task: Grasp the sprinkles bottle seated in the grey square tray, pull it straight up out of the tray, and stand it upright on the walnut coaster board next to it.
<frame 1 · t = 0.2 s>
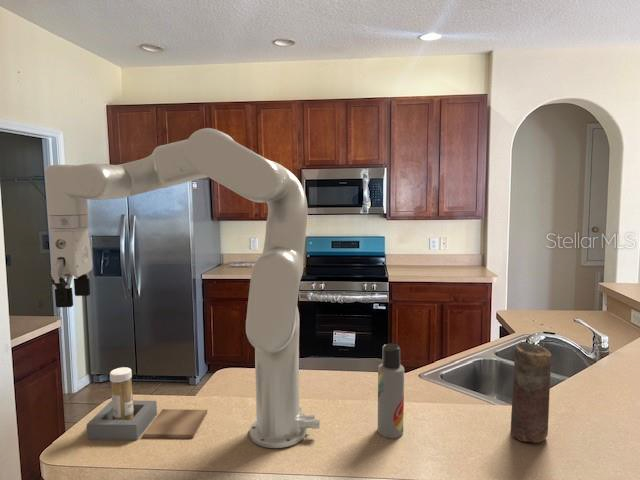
hand: (74, 300, 98), 30 cm above the counter, tool pointing down, fingers open, 9 cm apart
grey square tray: (124, 426, 103), on the counter
lotion bottle: (390, 432, 100), on the counter
sprinkles bottle: (124, 427, 103), resting in grey square tray
coaster board: (177, 424, 104), on the counter
candle: (528, 436, 98), on the counter
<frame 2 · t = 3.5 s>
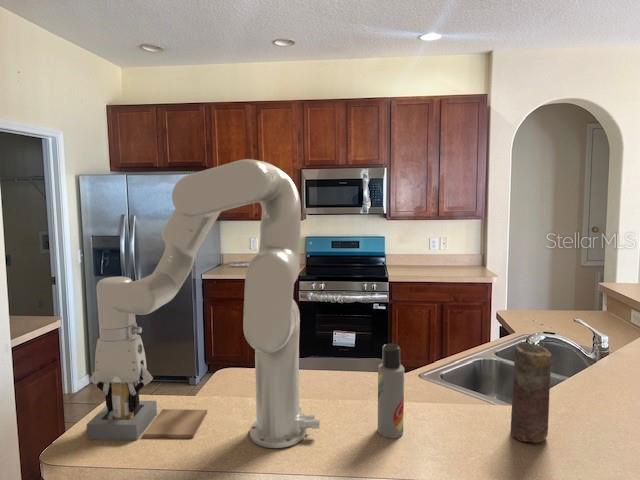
hand: (123, 408, 103), 4 cm above the counter, tool pointing down, fingers closed on sprinkles bottle, 4 cm apart
sprinkles bottle: (124, 427, 103), resting in grey square tray, touching gripper
everything else where it was.
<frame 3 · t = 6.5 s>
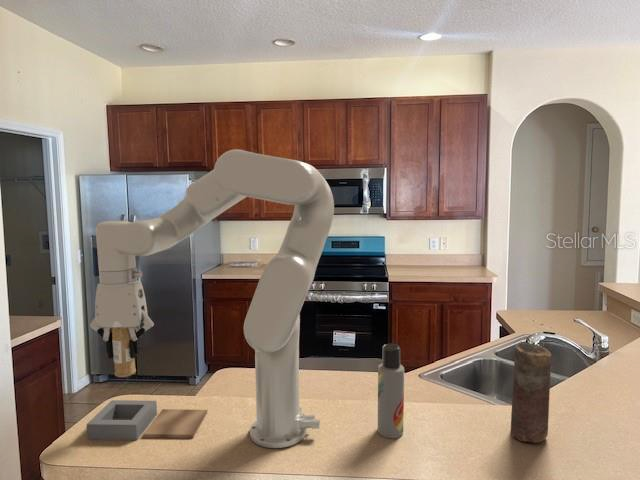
hand: (124, 355, 101), 17 cm above the counter, tool pointing down, fingers closed on sprinkles bottle, 4 cm apart
sprinkles bottle: (125, 374, 102), point 12 cm above the counter, touching gripper
everything else where it was.
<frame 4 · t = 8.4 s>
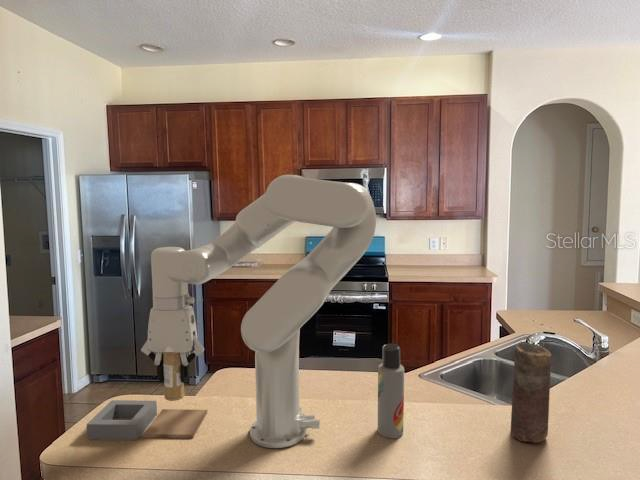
hand: (173, 379, 103), 11 cm above the counter, tool pointing down, fingers closed on sprinkles bottle, 4 cm apart
sprinkles bottle: (174, 397, 103), point 6 cm above the counter, touching gripper
everything else where it was.
when the fingers open (6 cm above the counter, at t = 9.9 s): sprinkles bottle drops 1 cm, resting on coaster board.
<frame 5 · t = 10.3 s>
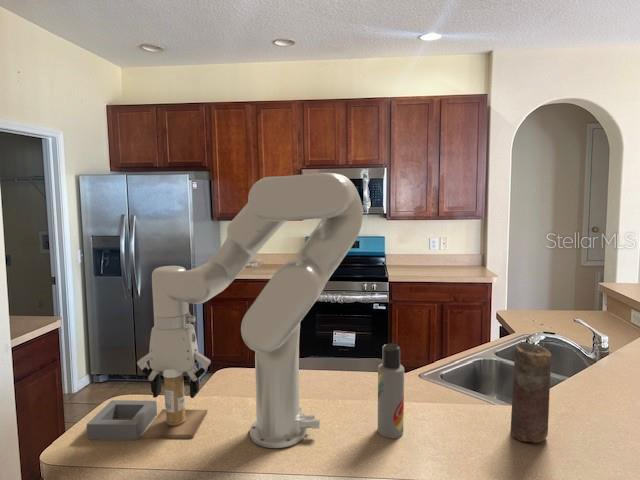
hand: (175, 394, 103), 7 cm above the counter, tool pointing down, fingers open, 8 cm apart
sprinkles bottle: (176, 422, 104), point 1 cm above the counter, touching coaster board
everything else where it was.
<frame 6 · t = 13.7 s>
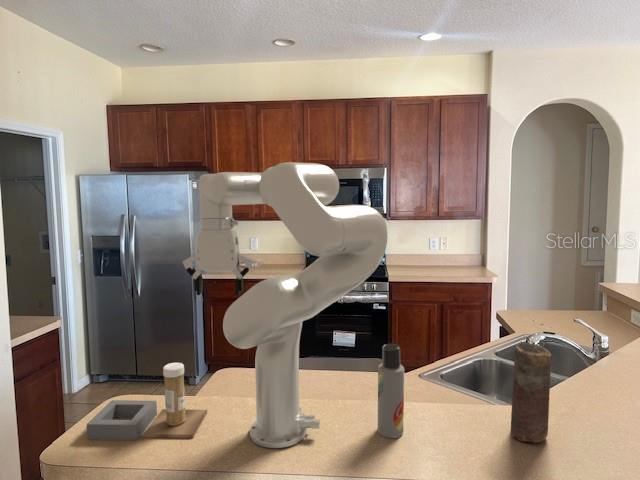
hand: (219, 293, 111), 28 cm above the counter, tool pointing down, fingers open, 9 cm apart
nothing on the counter moved.
at the end: sprinkles bottle inside the target area on the coaster board (0.2 cm from its centre), point 0.6 cm above the coaster board's base; sprinkles bottle tilted 0°; the gripper is holding nothing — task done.
